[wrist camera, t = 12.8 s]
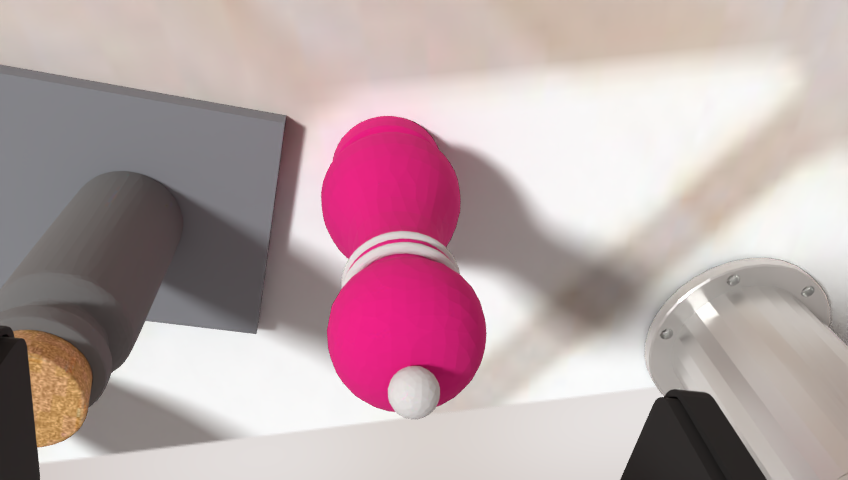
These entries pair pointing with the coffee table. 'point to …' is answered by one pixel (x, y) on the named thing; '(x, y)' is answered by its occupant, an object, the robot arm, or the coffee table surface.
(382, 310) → the pepper mill
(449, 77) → the coffee table surface
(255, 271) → the mat
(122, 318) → the bottle
